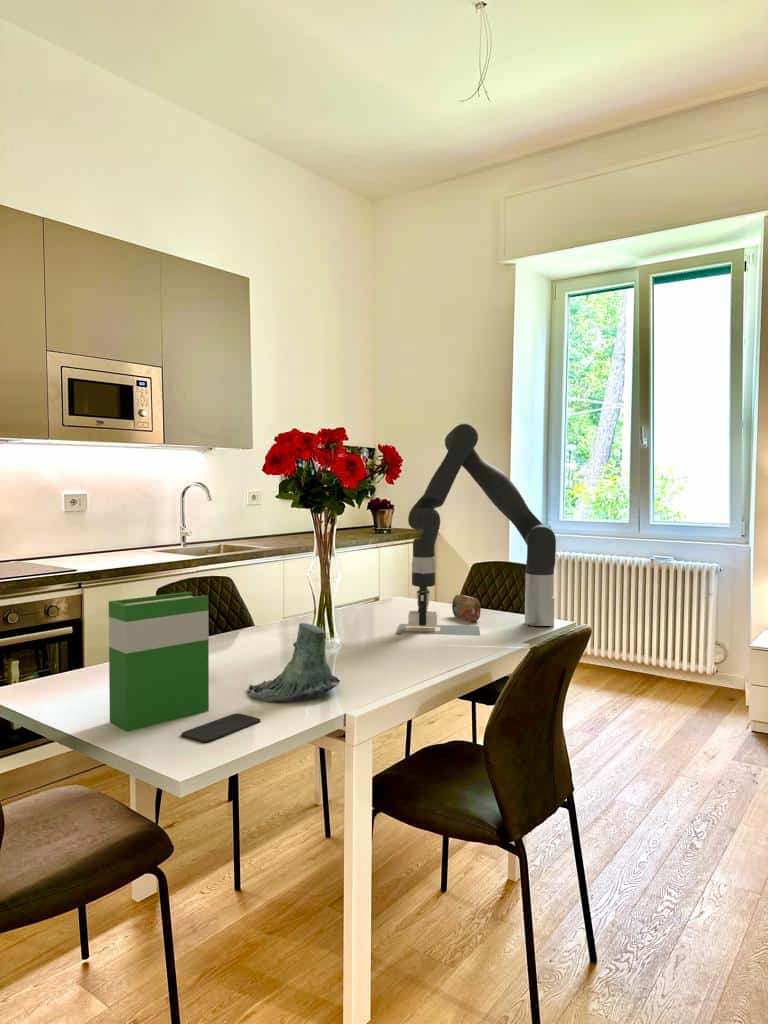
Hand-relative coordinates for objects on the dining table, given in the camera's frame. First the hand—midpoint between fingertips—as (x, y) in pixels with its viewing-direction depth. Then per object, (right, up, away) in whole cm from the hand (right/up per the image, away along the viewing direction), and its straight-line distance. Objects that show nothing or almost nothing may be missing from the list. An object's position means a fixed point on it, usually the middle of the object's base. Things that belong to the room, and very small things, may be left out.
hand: (423, 623), depth 228 cm
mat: (+5, -2, 0) cm, 5 cm away
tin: (+16, -2, +17) cm, 24 cm away
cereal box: (-58, -6, -84) cm, 102 cm away
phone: (-44, -7, -91) cm, 101 cm away
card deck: (0, -1, 0) cm, 1 cm away
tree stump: (-33, -5, -67) cm, 74 cm away
